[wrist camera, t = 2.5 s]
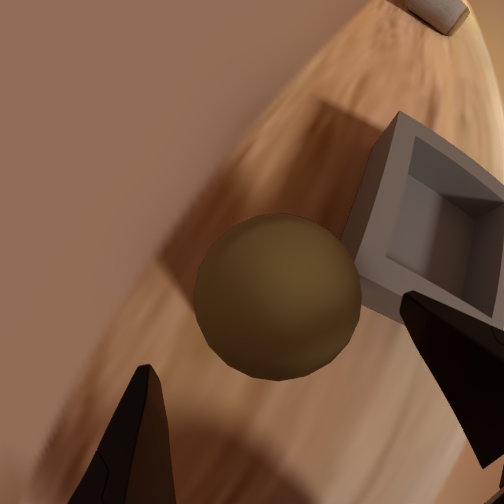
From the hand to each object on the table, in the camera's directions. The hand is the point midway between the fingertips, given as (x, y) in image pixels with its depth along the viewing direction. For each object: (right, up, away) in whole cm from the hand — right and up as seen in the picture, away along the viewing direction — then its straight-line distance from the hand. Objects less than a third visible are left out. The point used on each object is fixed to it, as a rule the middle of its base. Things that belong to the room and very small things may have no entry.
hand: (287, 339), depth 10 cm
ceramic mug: (+27, +39, +21) cm, 52 cm away
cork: (-1, -1, +9) cm, 9 cm away
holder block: (+11, +3, +11) cm, 16 cm away
